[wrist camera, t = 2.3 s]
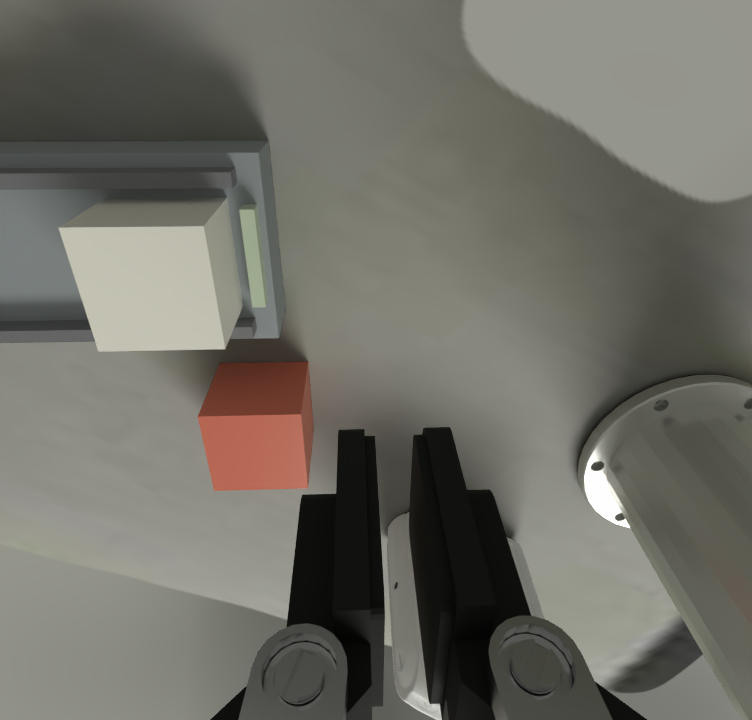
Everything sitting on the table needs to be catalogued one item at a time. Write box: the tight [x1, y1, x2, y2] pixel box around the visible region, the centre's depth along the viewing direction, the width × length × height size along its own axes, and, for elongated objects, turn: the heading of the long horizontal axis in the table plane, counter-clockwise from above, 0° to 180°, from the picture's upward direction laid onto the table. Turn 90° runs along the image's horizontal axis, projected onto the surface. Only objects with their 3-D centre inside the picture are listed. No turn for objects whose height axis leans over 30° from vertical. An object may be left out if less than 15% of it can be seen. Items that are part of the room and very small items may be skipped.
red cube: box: [198, 362, 314, 491], centre depth 29 cm, size 5×5×5 cm
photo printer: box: [387, 512, 544, 720], centre depth 33 cm, size 10×4×12 cm, turn 67°
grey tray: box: [0, 141, 286, 343], centre depth 23 cm, size 15×8×4 cm, turn 90°
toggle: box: [58, 197, 243, 351], centre depth 21 cm, size 5×5×4 cm
